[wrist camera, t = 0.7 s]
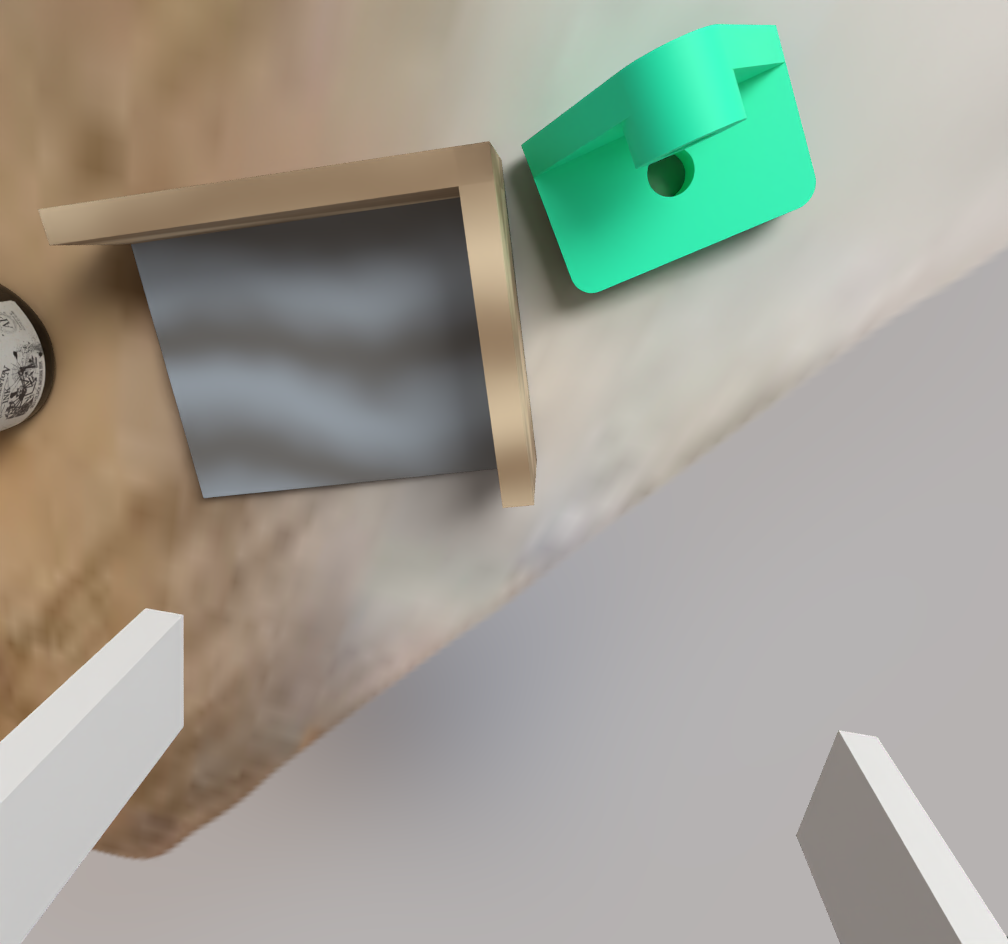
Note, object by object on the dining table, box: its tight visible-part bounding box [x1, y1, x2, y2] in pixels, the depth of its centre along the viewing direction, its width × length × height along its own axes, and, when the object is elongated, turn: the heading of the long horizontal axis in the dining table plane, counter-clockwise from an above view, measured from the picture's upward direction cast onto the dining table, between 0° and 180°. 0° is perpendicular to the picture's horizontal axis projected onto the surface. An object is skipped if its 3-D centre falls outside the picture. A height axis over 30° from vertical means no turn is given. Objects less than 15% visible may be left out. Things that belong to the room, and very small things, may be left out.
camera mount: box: [521, 24, 816, 293], centre depth 29 cm, size 12×8×10 cm, turn 113°
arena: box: [38, 141, 537, 508], centre depth 35 cm, size 16×20×7 cm
